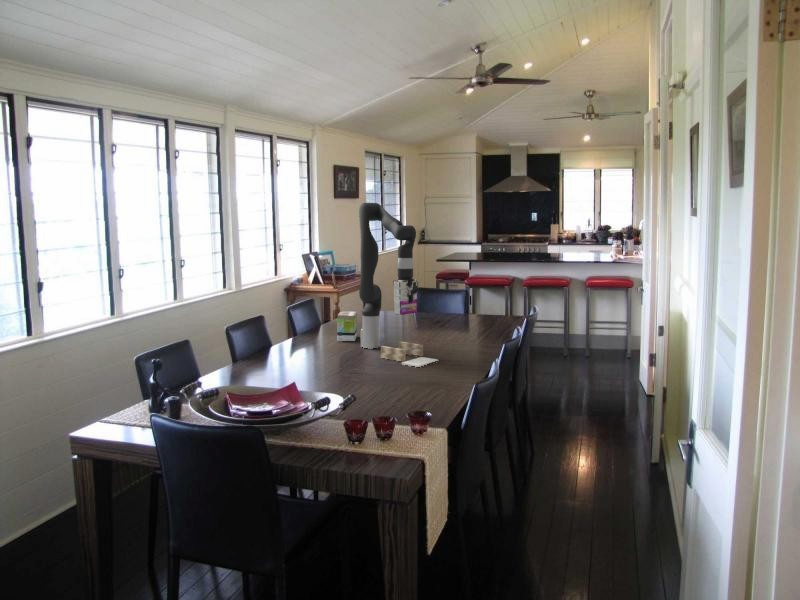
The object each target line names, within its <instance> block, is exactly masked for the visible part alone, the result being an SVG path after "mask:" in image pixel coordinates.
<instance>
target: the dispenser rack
mask: <svg viewBox="0 0 800 600" xmlns="http://www.w3.org/2000/svg"><path fill="white" fill-rule="evenodd" d="M406 354H413V355H419V356H423V357H424V345H423V344H419V343H413V342H406V341H398V347H392V346H386V345H381V346H380V359H382V358H385V359H384V360H387V359H390V360H389V361H393V360H396V361H395V362H398V361H402V362H405V361H407V360H406V356H407V355H406ZM402 362H401V363H402Z"/></svg>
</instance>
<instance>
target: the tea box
mask: <svg viewBox="0 0 800 600" xmlns="http://www.w3.org/2000/svg"><path fill="white" fill-rule="evenodd" d="M336 321H337V323H336V326H337V327H336V328H337V329H336V330H337V331H336V341H337V342H342V341H354V342H355V341H356V339H357V337H358V311H340V312H339V313H338V314H337V320H336ZM356 336H357V337H356Z"/></svg>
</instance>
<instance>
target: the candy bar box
mask: <svg viewBox="0 0 800 600" xmlns="http://www.w3.org/2000/svg"><path fill="white" fill-rule="evenodd" d="M395 280H396V281H394V280H393V281H394V285H393V302H394V303H393V305H394V306H393V307H394V315H399V316H401V315H410V314H417V313H418V292H417V293H416V294H414V295H413V302H412V303H409V293H408V291H407V285H406V283H407V284H408V281H407V280H398V279H395ZM413 281H415V282H418V279H417V278H413ZM411 286H412V287H413V285H411ZM409 288H411V287H409ZM410 291H411V290H410Z"/></svg>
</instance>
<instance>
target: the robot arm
mask: <svg viewBox="0 0 800 600" xmlns="http://www.w3.org/2000/svg"><path fill="white" fill-rule="evenodd" d="M358 218H359V232H360V233H359V234H360V280H359V290H358V292H359V293H358V294H359V295H358V296H359V298H360V300H361V301H362V302H363V303H364V304H365V305H364V306H363V308H362V310H361V329H360V348H362V347H363V348H362V349H364V348H368V349H367V350H374V349H373V348H377V349H379V348H381V346H380V341H381V340H380V336H381V333H380V332H381V331H380V330H381V328H380V327H381V325H380V324H381V323H380V317H381V316H380V314H381V313H380V312H381V311H382V310H381V309H382V296H383V295H382V289H381V287H380V286H379V285H378V284H376V283H374V277H375V272H376V269H377V266H378V263H379V245H378V243H377V240H376V238H375V237H374V236H373V234H372V232H371V227H370V222H375V221H379V222H381V224H382V226H383V228H384V229H385V230H387V232H388V233H391V235H392V236H393V237H394V239H396V240H398V241H405V242H404V243H403V244H402V245H400V246H399V245H398V248H397V278H398V279H395V280H393V281H392V283H393V286H394V281H396V280H407V281H408V284H407V283H406V285H407V291H408V293H409V303H412V302H413V295H414V294H416V293H417V294H418V288H419V281H417V282H415V281H413V279H414V278H413V277H414V255H413V254H414V253H413V250H414V246H415V242H416V238H417V231H416V228H415V226H414V225H408V224H407V225H404V224H403V222H402V221H400V220H399V219H397V218H395V217H394V216H392V215H391V214H390V213H389V212H388V211H387V210H386V209H385V208H384V207H383V206H382V205H381V204H380V203H377V202H362V203H361V204H360V205H359V208H358ZM411 285H413V287H412V286H411ZM409 287H411V288H409ZM410 290H411V291H410ZM378 347H379V348H378Z"/></svg>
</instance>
